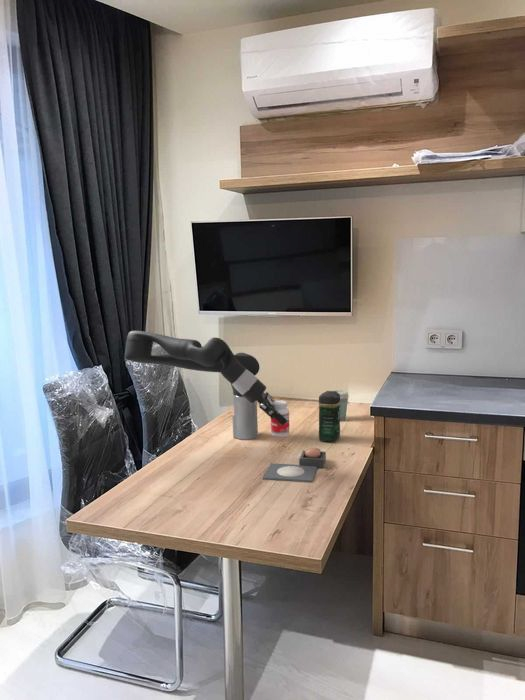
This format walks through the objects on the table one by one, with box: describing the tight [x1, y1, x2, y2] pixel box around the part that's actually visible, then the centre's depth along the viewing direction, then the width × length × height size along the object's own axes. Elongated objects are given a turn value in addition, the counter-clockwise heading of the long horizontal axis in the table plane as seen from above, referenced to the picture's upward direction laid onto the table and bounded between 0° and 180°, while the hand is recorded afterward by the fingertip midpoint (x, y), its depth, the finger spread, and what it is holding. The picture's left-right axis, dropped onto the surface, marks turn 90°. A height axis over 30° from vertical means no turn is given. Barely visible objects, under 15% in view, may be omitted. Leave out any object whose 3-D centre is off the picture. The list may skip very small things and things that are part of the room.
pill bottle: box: [270, 400, 290, 438], centre depth 195 cm, size 6×6×11 cm
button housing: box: [298, 450, 327, 469], centre depth 200 cm, size 8×8×3 cm
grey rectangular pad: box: [262, 462, 318, 483], centre depth 192 cm, size 16×13×1 cm
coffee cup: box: [334, 389, 349, 422], centre depth 251 cm, size 8×9×12 cm
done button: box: [304, 446, 321, 458], centre depth 200 cm, size 5×5×2 cm
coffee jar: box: [318, 390, 341, 443], centre depth 225 cm, size 10×8×19 cm
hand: (285, 420), depth 195 cm, fingers closed on pill bottle, 6 cm apart
